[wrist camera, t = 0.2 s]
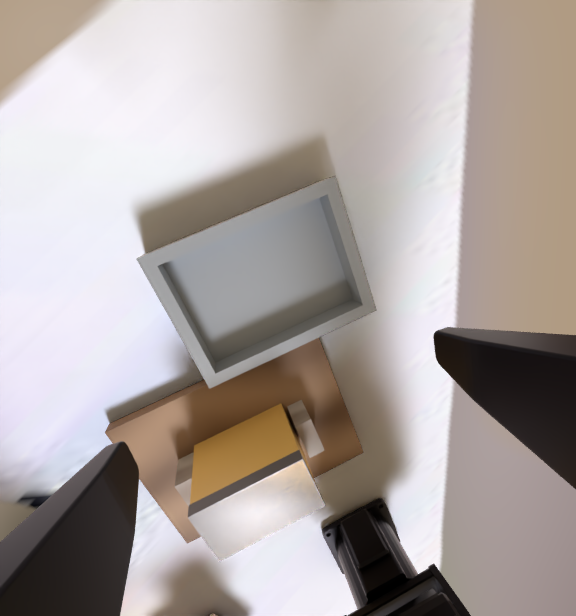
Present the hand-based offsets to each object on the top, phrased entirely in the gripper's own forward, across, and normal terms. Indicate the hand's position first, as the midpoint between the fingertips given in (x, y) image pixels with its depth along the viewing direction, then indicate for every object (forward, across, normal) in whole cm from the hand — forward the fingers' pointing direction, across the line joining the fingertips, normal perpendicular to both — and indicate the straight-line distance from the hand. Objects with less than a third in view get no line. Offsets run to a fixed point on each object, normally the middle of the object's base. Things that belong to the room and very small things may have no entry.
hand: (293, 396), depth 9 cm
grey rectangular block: (+13, +3, +11) cm, 18 cm away
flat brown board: (+14, +3, +11) cm, 19 cm away
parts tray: (+14, -1, 0) cm, 14 cm away
